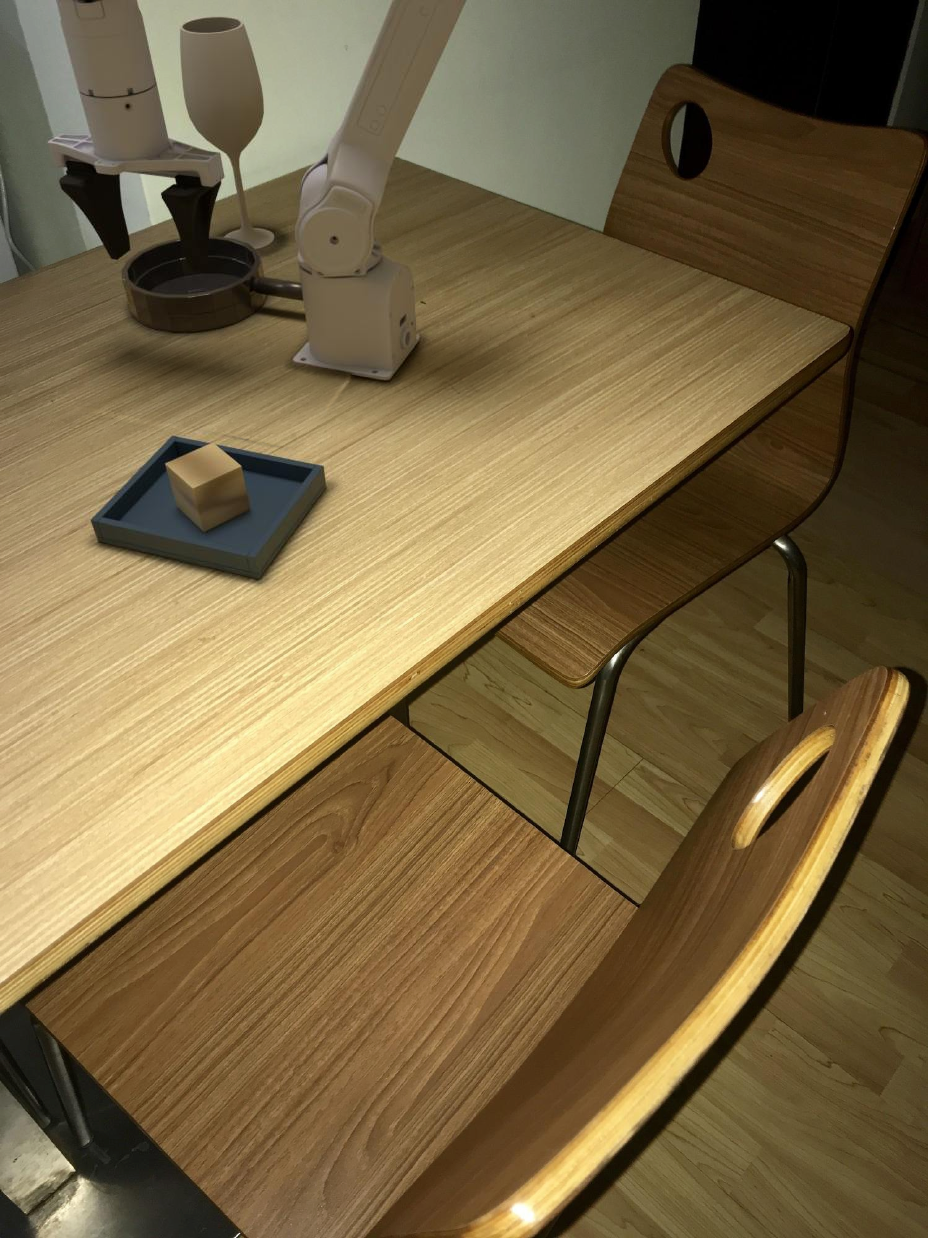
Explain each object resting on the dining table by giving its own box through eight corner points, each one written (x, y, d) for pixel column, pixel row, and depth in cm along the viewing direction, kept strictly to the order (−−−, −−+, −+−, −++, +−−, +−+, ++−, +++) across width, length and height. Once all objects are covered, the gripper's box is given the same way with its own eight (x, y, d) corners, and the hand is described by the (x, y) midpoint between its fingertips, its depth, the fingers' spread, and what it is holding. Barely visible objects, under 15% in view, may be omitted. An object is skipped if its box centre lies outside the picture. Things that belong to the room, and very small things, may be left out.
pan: (289, 283, 101) (284, 245, 98) (226, 346, 92) (218, 305, 89) (176, 266, 104) (168, 228, 101) (105, 325, 95) (93, 285, 93)
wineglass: (298, 237, 109) (269, 20, 94) (252, 264, 104) (213, 40, 90) (245, 222, 112) (209, 9, 97) (198, 248, 107) (153, 28, 93)
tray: (326, 486, 77) (323, 465, 75) (259, 579, 69) (254, 557, 68) (177, 455, 80) (172, 434, 78) (97, 541, 72) (89, 519, 71)
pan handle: (333, 299, 94) (331, 283, 93) (326, 307, 93) (324, 291, 92) (257, 288, 96) (255, 272, 95) (250, 295, 95) (247, 279, 94)
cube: (223, 485, 76) (213, 441, 73) (250, 509, 74) (241, 465, 71) (176, 507, 74) (164, 463, 71) (204, 532, 72) (192, 488, 69)
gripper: (3, 93, 74) (58, 268, 83) (174, 112, 70) (211, 293, 80) (60, 65, 78) (106, 234, 88) (223, 81, 75) (252, 256, 84)
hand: (159, 260), depth 84 cm, fingers open, 7 cm apart
